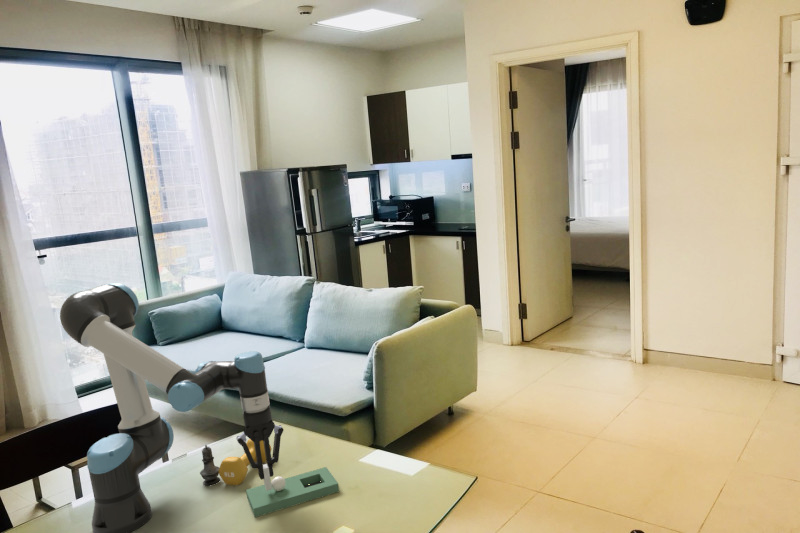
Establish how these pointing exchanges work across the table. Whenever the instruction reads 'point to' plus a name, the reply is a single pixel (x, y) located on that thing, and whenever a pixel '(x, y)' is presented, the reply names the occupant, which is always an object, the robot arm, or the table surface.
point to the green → (292, 491)
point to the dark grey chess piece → (209, 468)
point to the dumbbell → (239, 465)
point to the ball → (278, 483)
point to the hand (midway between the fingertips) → (268, 488)
